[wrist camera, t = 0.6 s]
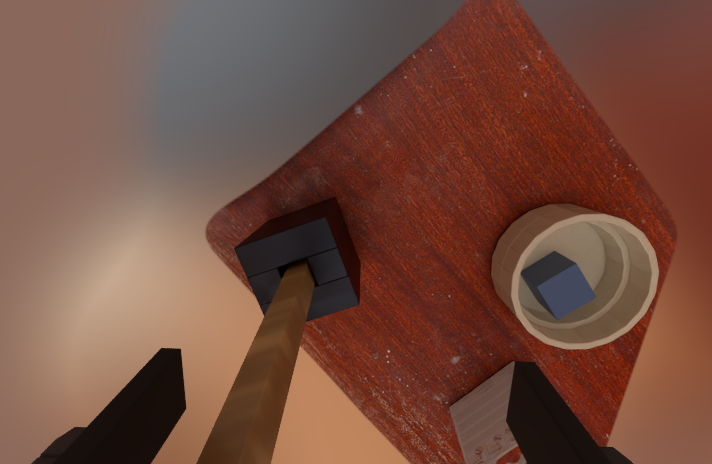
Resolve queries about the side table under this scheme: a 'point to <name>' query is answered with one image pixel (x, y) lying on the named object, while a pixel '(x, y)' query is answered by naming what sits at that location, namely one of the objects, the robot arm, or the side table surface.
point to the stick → (263, 377)
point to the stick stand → (305, 240)
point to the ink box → (486, 420)
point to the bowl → (596, 261)
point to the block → (558, 284)
